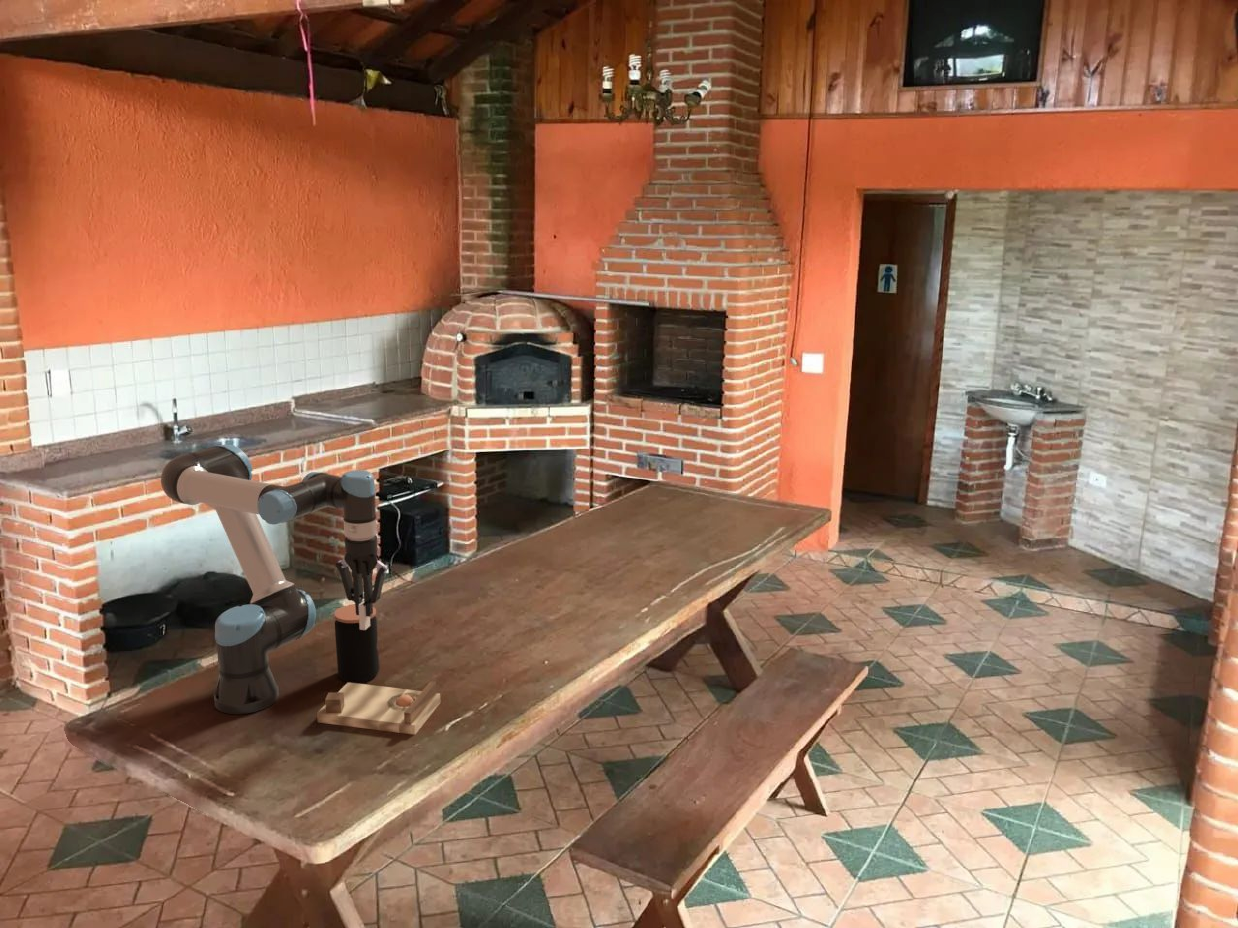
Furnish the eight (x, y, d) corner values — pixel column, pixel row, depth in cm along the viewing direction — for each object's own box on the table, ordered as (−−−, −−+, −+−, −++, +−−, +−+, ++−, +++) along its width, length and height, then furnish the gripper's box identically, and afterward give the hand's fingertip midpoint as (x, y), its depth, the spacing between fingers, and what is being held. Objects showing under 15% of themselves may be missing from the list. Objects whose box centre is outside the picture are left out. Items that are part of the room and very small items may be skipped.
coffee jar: (387, 674, 267) (384, 611, 263) (352, 688, 260) (348, 623, 255) (365, 662, 275) (361, 600, 270) (330, 675, 267) (325, 611, 262)
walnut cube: (326, 713, 242) (325, 699, 242) (329, 706, 246) (328, 692, 245) (341, 713, 243) (340, 699, 242) (344, 705, 246) (343, 692, 245)
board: (317, 722, 243) (316, 701, 242) (348, 691, 258) (347, 671, 257) (415, 734, 238) (414, 713, 237) (440, 702, 253) (439, 682, 252)
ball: (403, 717, 247) (391, 705, 247) (409, 711, 251) (398, 700, 251) (412, 705, 246) (400, 694, 247) (419, 700, 250) (407, 689, 251)
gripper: (327, 538, 237) (332, 630, 244) (379, 543, 235) (383, 637, 241) (342, 528, 244) (347, 618, 251) (393, 533, 242) (396, 624, 248)
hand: (365, 627), depth 246 cm, fingers closed
